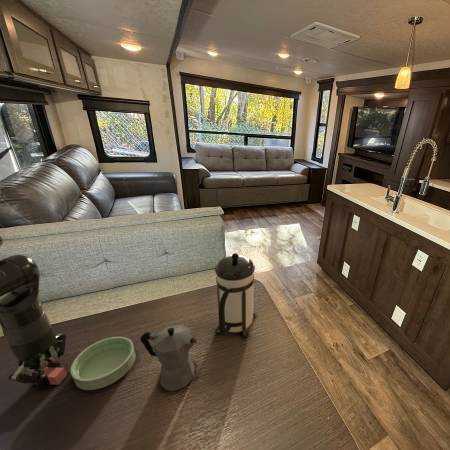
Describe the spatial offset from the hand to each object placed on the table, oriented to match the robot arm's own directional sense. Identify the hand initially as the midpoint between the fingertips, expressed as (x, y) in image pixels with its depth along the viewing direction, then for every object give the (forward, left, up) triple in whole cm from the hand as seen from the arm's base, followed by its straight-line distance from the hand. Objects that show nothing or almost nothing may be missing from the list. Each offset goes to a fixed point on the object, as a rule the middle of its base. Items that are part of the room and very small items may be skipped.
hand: (50, 378), depth 67 cm
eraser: (0, 0, 0) cm, 0 cm away
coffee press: (+46, +21, -1) cm, 51 cm away
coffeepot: (+32, +2, -1) cm, 32 cm away
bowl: (+12, +4, 0) cm, 13 cm away
